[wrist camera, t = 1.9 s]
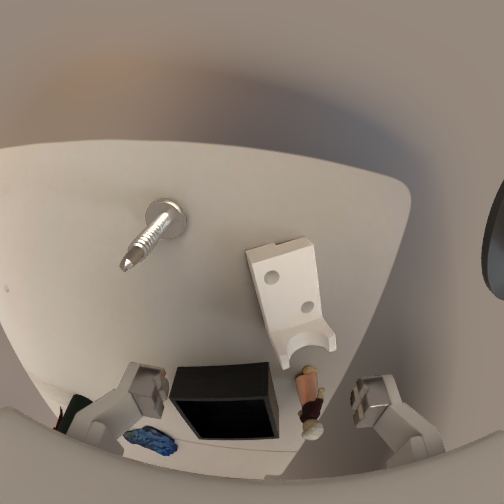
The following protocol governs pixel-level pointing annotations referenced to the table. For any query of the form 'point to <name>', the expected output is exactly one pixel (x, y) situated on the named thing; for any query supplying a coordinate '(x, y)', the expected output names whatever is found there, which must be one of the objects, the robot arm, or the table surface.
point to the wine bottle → (71, 412)
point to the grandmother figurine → (310, 403)
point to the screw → (155, 230)
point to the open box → (227, 401)
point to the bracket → (290, 297)
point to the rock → (152, 440)
